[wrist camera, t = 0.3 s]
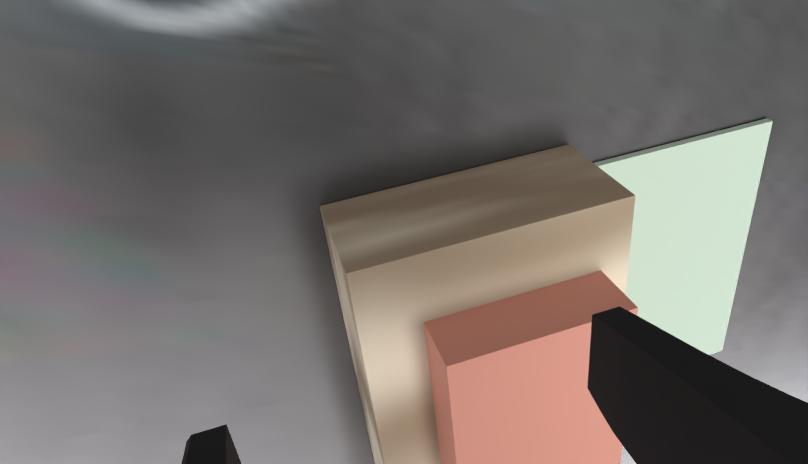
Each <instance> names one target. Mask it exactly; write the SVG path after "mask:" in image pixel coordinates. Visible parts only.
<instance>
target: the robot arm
mask: <svg viewBox="0 0 808 464" xmlns="http://www.w3.org/2000/svg"><path fill="white" fill-rule="evenodd" d="M587 388H588V390H589V392H590V394H591V395H592V397H593V399H594V401H595V402H596V404H597V406H598V408H599V410H600V411H601V413H602V415H603V416H604V418H605V420H606V421H607V423H608V425H609V426H610V428H611V430H612V431H613V433H614V434H615V436H616V437H617V438H618V440H619V441H620V442H621V444H622V445H623V446H624V448H625V449H626V450H627V452H628V453H629V454H630V456H631V457H632V458H633V460H634V461H635V462H636V463H637V464H808V403H807V402H804V401H802V400H800V399H798V398H795V397H793V396H791V395H788V394H786V393H784V392H782V391H780V390H778V389H776V388H774V387H771V386H769V385H767V384H765V383H763V382H761V381H759V380H757V379H754V378H752V377H750V376H748V375H746V374H744V373H742V372H740V371H738V370H736V369H734V368H732V367H731V366H729V365H727V364H725V363H723V362H721V361H719V360H717V359H715V358H713V357H711V356H710V355H708V354H706V353H704V352H702V351H700V350H698V349H697V348H695V347H693V346H691V345H689V344H687V343H686V342H684V341H682V340H680V339H678V338H677V337H675V336H673V335H671V334H669V333H667V332H666V331H664V330H662V329H660V328H659V327H657V326H655V325H653V324H651V323H650V322H648V321H646V320H644V319H642V318H641V317H639V316H637V315H635V314H633V313H631V312H630V311H628V310H626V309H624V308H622V307H620V306H619V307H616V308H612V309H609V310H606V311H602V312H599V313H596V314H592V325H591V340H590V355H589V371H588V386H587ZM182 464H241V462H240V459H239V456H238V454H237V451H236V448H235V446H234V443H233V441H232V438H231V435H230V433H229V430H228V427H227V425H223V426H220V427H216V428H213V429H210V430H206V431H203V432H200V433H196V434H193V435H191V436H190V438H189V439H188V440H187V443H186V447H185V452H184V456H183V460H182Z"/></svg>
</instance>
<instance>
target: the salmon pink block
mask: <svg viewBox="0 0 808 464" xmlns="http://www.w3.org/2000/svg"><path fill="white" fill-rule="evenodd" d="M619 306H620V307H622V308H624V309H626V310H628V311H630V312H631V313H633V314H635V315H637V313H638V307H637V306H636V305H635V304H634V303H633V302H632V301H631V300H630V299H629V298H628V297H627V296H626V295H625V294H624V293H623V292H622V291H621V290H620V289H619V288H618V287H617V286H616V285H615V284H614V283H613V282H612V281H611V280H610V279H609V278H608V277H607V276H606V275H605V274H604V273H603V272H602V271H597V272H594V273H591V274H587V275H584V276H580V277H577V278H573V279H570V280H567V281H563V282H560V283H556V284H553V285H549V286H546V287H543V288H539V289H536V290H532V291H529V292H526V293H522V294H519V295H515V296H512V297H508V298H505V299H502V300H498V301H495V302H491V303H488V304H485V305H481V306H478V307H474V308H471V309H467V310H464V311H461V312H457V313H454V314H450V315H447V316H443V317H440V318H437V319H433V320H430V321H426V322H424V330H425V338H426V346H427V354H428V362H429V370H430V378H431V386H432V394H433V402H434V409H435V417H436V425H437V433H438V441H439V449H440V457H441V464H620V459H621V451H622V444H621V442H620V441H619V440H618V438H617V437H616V436H615V434H614V433H613V431H612V430H611V428H610V426H609V425H608V423H607V421H606V420H605V418H604V416H603V415H602V413H601V411H600V410H599V408H598V406H597V404H596V402H595V401H594V399H593V397H592V395H591V394H590V392H589V390H588V388H587V386H588V371H589V355H590V340H591V325H592V314H596V313H599V312H602V311H606V310H609V309H612V308H616V307H619Z"/></svg>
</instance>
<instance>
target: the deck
mask: <svg viewBox="0 0 808 464" xmlns="http://www.w3.org/2000/svg"><path fill="white" fill-rule="evenodd" d="M634 205H635V195H634V194H633V193H632V192H630V191H629V190H628V189H626V188H625V187H624V186H623V185H621V184H620V183H619V182H617V181H616V180H615V179H613V178H612V177H611V176H609V175H608V174H607V173H606V172H604V171H603V170H602V169H600V168H599V167H598V166H596V165H595V164H594V163H593V162H591V161H590V160H589V159H587V158H586V157H585V156H583V155H582V154H581V153H579V152H578V151H577V150H576V149H574V148H573V147H572V146H570V145H569V144H568V145H564V146H560V147H556V148H552V149H547V150H543V151H539V152H535V153H531V154H527V155H523V156H519V157H515V158H511V159H507V160H503V161H499V162H495V163H491V164H487V165H483V166H479V167H475V168H471V169H467V170H463V171H459V172H455V173H451V174H447V175H443V176H439V177H435V178H431V179H427V180H423V181H419V182H415V183H411V184H407V185H403V186H399V187H395V188H391V189H386V190H382V191H378V192H374V193H370V194H366V195H362V196H358V197H354V198H350V199H346V200H342V201H338V202H334V203H330V204H326V205H322V206H320V211H321V216H322V220H323V225H324V230H325V234H326V239H327V244H328V248H329V253H330V257H331V262H332V267H333V271H334V276H335V281H336V285H337V290H338V295H339V299H340V304H341V309H342V313H343V318H344V323H345V327H346V332H347V336H348V341H349V346H350V350H351V355H352V360H353V364H354V369H355V374H356V378H357V383H358V388H359V392H360V397H361V402H362V406H363V411H364V415H365V420H366V425H367V429H368V434H369V439H370V443H371V448H372V453H373V457H374V462H375V464H441V457H440V449H439V441H438V433H437V425H436V417H435V409H434V402H433V394H432V386H431V378H430V370H429V362H428V354H427V346H426V338H425V330H424V322H426V321H430V320H433V319H437V318H440V317H443V316H447V315H450V314H454V313H457V312H461V311H464V310H467V309H471V308H474V307H478V306H481V305H485V304H488V303H491V302H495V301H498V300H502V299H505V298H508V297H512V296H515V295H519V294H522V293H526V292H529V291H532V290H536V289H539V288H543V287H546V286H549V285H553V284H556V283H560V282H563V281H567V280H570V279H573V278H577V277H580V276H584V275H587V274H591V273H594V272H597V271H602V272H603V273H604V274H605V275H606V276H607V277H608V278H609V279H610V280H611V281H612V282H613V283H614V284H615V285H616V286H617V287H618V288H619V289H620V290H621V291H622V292H623V293H624V294H625V295H626V285H627V275H628V265H629V255H630V245H631V235H632V225H633V215H634Z"/></svg>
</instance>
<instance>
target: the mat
mask: <svg viewBox="0 0 808 464" xmlns="http://www.w3.org/2000/svg"><path fill="white" fill-rule="evenodd" d="M772 122H773V121H771V120H769V119H767V118H766V119H762V120H758V121H754V122H751V123H747V124H743V125H739V126H735V127H731V128H727V129H723V130H719V131H715V132H712V133H708V134H704V135H700V136H696V137H692V138H688V139H684V140H680V141H676V142H673V143H669V144H665V145H661V146H657V147H653V148H649V149H645V150H641V151H637V152H634V153H630V154H626V155H622V156H618V157H614V158H610V159H606V160H602V161H598V162H595V163H594V164H595V165H596V166H598V167H599V168H600V169H602V170H603V171H604V172H606V173H607V174H608V175H609V176H611V177H612V178H613V179H615V180H616V181H617V182H619V183H620V184H621V185H623V186H624V187H625V188H626V189H628V190H629V191H630V192H632V193H633V194H634V195H635V205H634V215H633V225H632V235H631V245H630V255H629V265H628V275H627V285H626V296H627V297H628V298H629V299H630V300H631V301H632V302H633V303H634V304H635V305H636V306H637V307H638V313H637V316H639V317H641V318H642V319H644V320H646V321H648V322H650V323H651V324H653V325H655V326H657V327H659V328H660V329H662V330H664V331H666V332H667V333H669V334H671V335H673V336H675V337H677V338H678V339H680V340H682V341H684V342H686V343H687V344H689V345H691V346H693V347H695V348H697V349H698V350H700V351H702V352H704V353H706V354H708V355H710V354H713V353H716V352H719V351H722V349H723V345H724V340H725V335H726V331H727V326H728V322H729V317H730V313H731V308H732V304H733V299H734V295H735V290H736V286H737V281H738V276H739V272H740V267H741V263H742V258H743V254H744V249H745V245H746V240H747V236H748V231H749V227H750V222H751V217H752V213H753V208H754V204H755V199H756V195H757V190H758V186H759V181H760V177H761V172H762V168H763V163H764V158H765V154H766V149H767V145H768V140H769V136H770V131H771V127H772Z"/></svg>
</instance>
